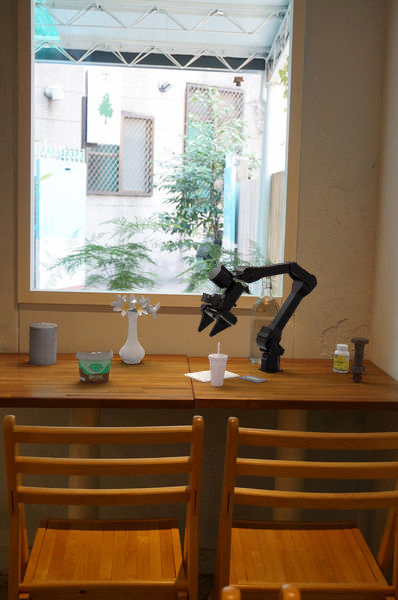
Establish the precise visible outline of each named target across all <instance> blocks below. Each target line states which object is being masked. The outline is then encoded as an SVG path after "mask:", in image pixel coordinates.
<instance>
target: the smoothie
mask: <svg viewBox="0 0 398 600" xmlns="http://www.w3.org/2000/svg"><path fill="white" fill-rule="evenodd" d="M220 346H221V342H220V341H218V342H217V353H210V354H209V355H208V360H209V370H210V373H211V381H210V383H211V384H210V385H211V386H213V387H222V386H224V385H223V384H224V380H225V379H224V374H225V371H226V367H227V361H228V360H229V355H227V354H224V353H220V348H221V347H220Z"/></svg>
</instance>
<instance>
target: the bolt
mask: <svg viewBox="0 0 398 600" xmlns="http://www.w3.org/2000/svg"><path fill="white" fill-rule="evenodd" d="M350 342H351V343H352V344H353V345H354V354H353V364H352V365H351V366H350V371H351V372H352V380H353V382H354V383H361V382H362V381H363V373H365V372H366V367H365V365H364V356H365V354H364V353H365V347H366V345H368V344H369V343H370V342H369V339H368V338H366V337H351V339H350Z"/></svg>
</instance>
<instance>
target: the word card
mask: <svg viewBox="0 0 398 600" xmlns="http://www.w3.org/2000/svg"><path fill="white" fill-rule="evenodd" d="M238 378H239V380H243V381H248V382H251V383H256V384H261V383H264V382H267V381H268V379H265V378H262V377H258V376H253V375H250V374H249V375H244V376H240V377H238Z"/></svg>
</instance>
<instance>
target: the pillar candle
mask: <svg viewBox="0 0 398 600" xmlns="http://www.w3.org/2000/svg"><path fill="white" fill-rule="evenodd" d="M28 326H29V327H28V328H29V329H28V330H29V332H28V334H29V335H28V336H29V338H28V339H29V341H28V347H29V348H28V364H31V365H34V366H50V365H54V364H56V363H57V341H58V340H57V336H58V335H57V334H58V333H57V332H58V331H57V330H58V329H57V328H58V325H57V324H56V323H52V322H50V323H49V322H34V323H30V324H29V325H28Z"/></svg>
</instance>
